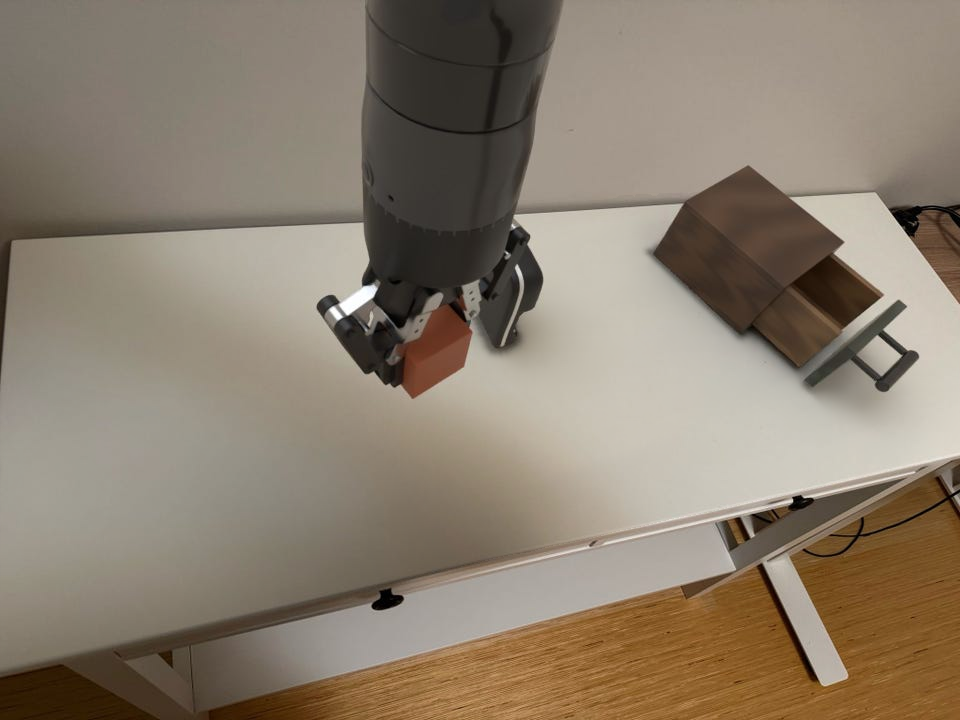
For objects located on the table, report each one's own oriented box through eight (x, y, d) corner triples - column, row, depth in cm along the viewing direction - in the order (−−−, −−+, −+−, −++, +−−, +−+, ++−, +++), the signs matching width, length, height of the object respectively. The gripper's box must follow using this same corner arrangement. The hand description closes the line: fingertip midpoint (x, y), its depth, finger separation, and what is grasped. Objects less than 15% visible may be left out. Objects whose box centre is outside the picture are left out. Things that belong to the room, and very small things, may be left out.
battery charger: (526, 342, 64) (553, 276, 55) (494, 351, 63) (516, 285, 54) (501, 293, 67) (523, 223, 58) (471, 300, 66) (488, 229, 57)
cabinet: (797, 290, 75) (845, 241, 68) (739, 334, 70) (785, 287, 62) (712, 217, 80) (748, 164, 72) (652, 253, 75) (684, 200, 67)
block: (464, 367, 42) (473, 331, 38) (412, 399, 40) (416, 365, 36) (426, 323, 44) (431, 284, 40) (374, 352, 42) (374, 315, 38)
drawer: (895, 371, 70) (946, 337, 63) (847, 420, 65) (897, 389, 58) (775, 267, 75) (810, 227, 69) (722, 305, 71) (755, 266, 64)
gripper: (358, 286, 23) (365, 453, 37) (603, 163, 29) (528, 347, 44) (261, 171, 25) (302, 369, 40) (506, 80, 32) (465, 280, 46)
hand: (420, 357), depth 42 cm, fingers closed on block, 4 cm apart
